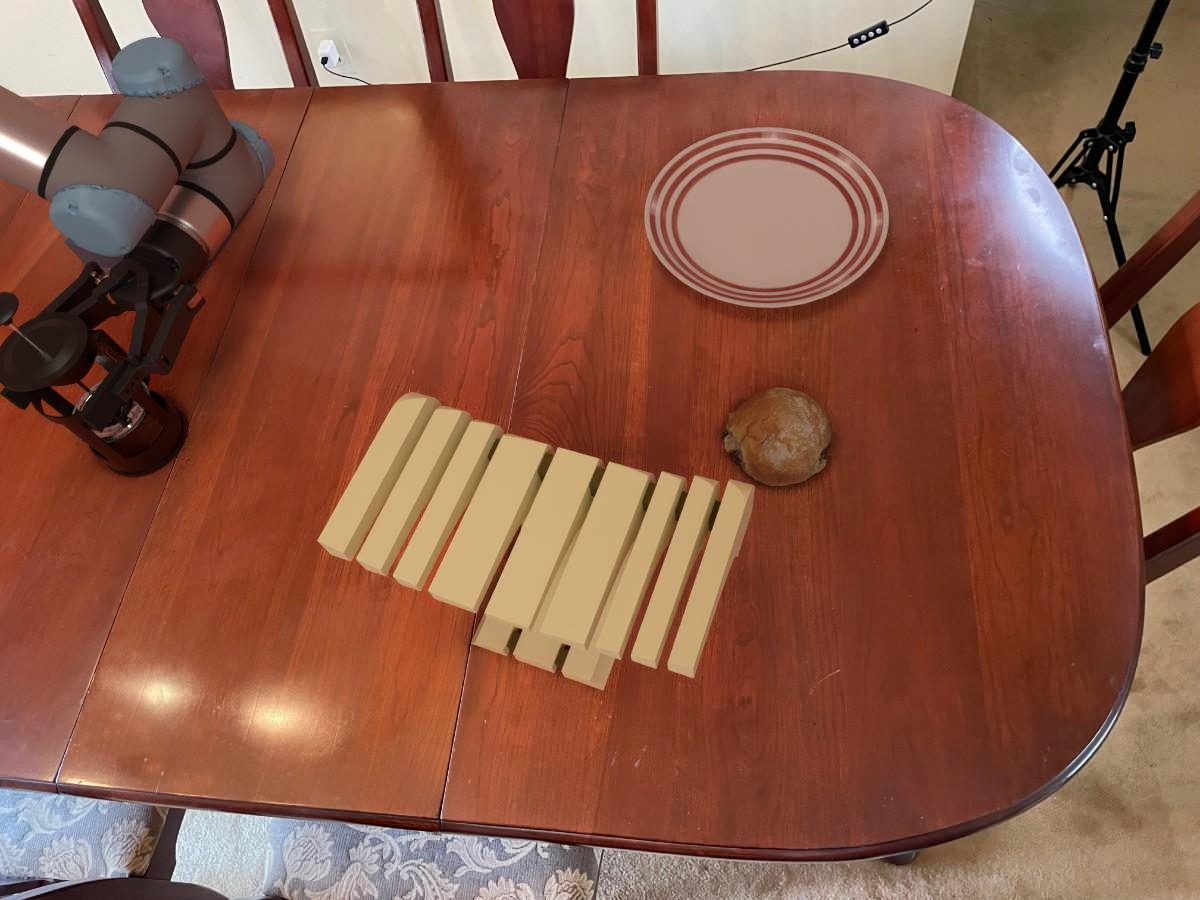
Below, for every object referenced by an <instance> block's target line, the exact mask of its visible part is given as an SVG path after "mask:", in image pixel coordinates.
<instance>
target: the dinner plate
mask: <svg viewBox="0 0 1200 900" xmlns="http://www.w3.org/2000/svg"><path fill="white" fill-rule="evenodd" d="M889 210H890V209H889V203H888V199H887V196H886V194H885V192H884V189H883V186H882V185H881V183H880V181H879V180H878V179H877V177H876V175H875V174H874V173H873V171H872V170H871V169H870V168H869V167H868V166H867V164H866V163H865V162H864V161H862V160H861V159H860V158H859V157H858V156H857V155H855V154H854V153H852V151H850V150H848V149H846V148H845V147H843V146H841V145H840V144H839V143H836V142H834V141H832V140H830V139H827V138H825V137H822V136H820V135H817V134H813V133H812V132H811V133H810V132H808V131H803V130H799V129H793V128H787V127H777V126H757V127H756V126H755V127H745V128H737V129H732V130H727V131H723V132H720V133H716V134H713V135H711V136H708V137H706V138H703V139H701V140H699V141H696V142H695V143H693V144H690V145H689V146H688V147H686V148H684V149H683V150H681V151H680V152H679V153H678V154H676V155H675V156H674V157H673V158H672V159H670V160H669V161H668V162H667V163H666V164H665V165H664V166H663V168H662V169H661V170H660V171H659V173H658V174H657V175H656V177H655V178H654V180H653V182H652V184H651V186H650V188H649V190H648V193H647V196H646V199H645V204H644V210H643V221H644V223H643V224H644V230H645V234H646V238H647V240H648V243H649V245H650V247H651V249H652V251H653V253H654V254H655V256H656V257H657V259H658V261H660V262H661V264H662V265H663V266H664V267H665V269H667V270H668V271H669V272H670V273H671V274H672V275H673V276H674V277H675V278H677V279H678V280H679V281H680V282H682V283H683V284H685V285H686V286H688V287H689V288H690V289H691V288H692V290H695V291H697V292H698V293H701V294H703V295H705V296H707V297H710V298H712V299H715V300H718V301H721V302H725V303H729V304H733V305H736V306H737V305H738V306H743V307H749V308H761V309H762V308H764V309H776V308H777V309H778V308H787V307H795V306H800V305H805V304H808V303H812V302H815V301H819V300H822V299H825V298H827V297H829V296H831V295H834V294H835V293H838V292H839V291H841V290H844V288H847V287H848V286H850V285H852V284H853V283H855V281H856V280H858V279H859V278H860V277H861V276H863V274H865V273H866V272H867V270H868V269H869V268H870V267H871V266H872V265H873V264H874V263H875V261H876V260H877V258H878V257H879V255H880V253H881V251H882V250H883V247H884V245H885V243H886V240H887V236H888V234H889V233H888V232H889V226H890V211H889Z"/></svg>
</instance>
